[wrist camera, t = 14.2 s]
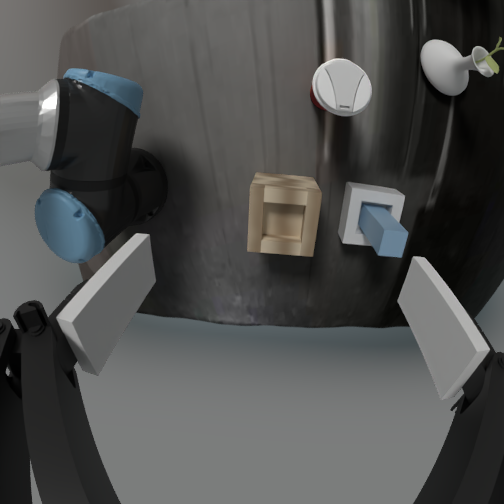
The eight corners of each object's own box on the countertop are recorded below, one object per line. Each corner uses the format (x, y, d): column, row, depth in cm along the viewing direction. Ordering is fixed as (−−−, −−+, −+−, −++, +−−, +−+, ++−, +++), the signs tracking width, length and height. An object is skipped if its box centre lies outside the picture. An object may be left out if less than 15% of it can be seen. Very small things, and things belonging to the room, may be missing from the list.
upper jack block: (253, 225, 52) (247, 251, 42) (256, 172, 47) (250, 187, 38) (306, 229, 51) (312, 256, 42) (313, 177, 46) (322, 193, 37)
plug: (357, 226, 48) (376, 258, 37) (362, 202, 45) (384, 229, 35) (377, 229, 47) (400, 261, 37) (382, 205, 45) (408, 232, 35)
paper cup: (347, 118, 41) (374, 120, 28) (303, 114, 41) (313, 112, 29) (348, 76, 37) (374, 62, 25) (303, 71, 38) (313, 53, 25)
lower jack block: (337, 232, 51) (342, 243, 47) (346, 181, 46) (352, 187, 42) (385, 237, 50) (392, 248, 46) (395, 189, 45) (405, 196, 41)
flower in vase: (444, 106, 36) (539, 119, 14) (406, 60, 34) (493, 35, 12) (474, 72, 31) (561, 73, 9) (438, 28, 28) (519, 1, 6)
